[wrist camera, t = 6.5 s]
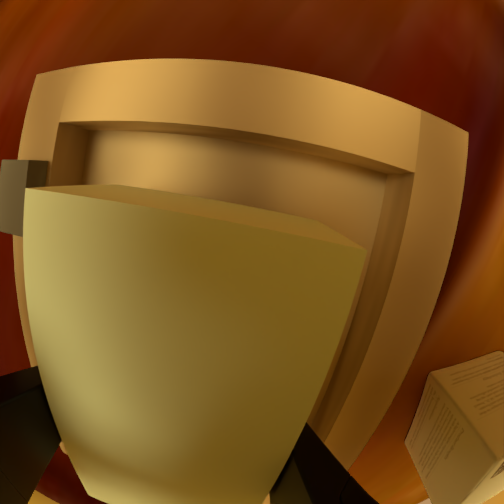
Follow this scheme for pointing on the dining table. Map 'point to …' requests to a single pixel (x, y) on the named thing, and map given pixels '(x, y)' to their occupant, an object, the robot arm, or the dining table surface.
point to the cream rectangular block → (180, 336)
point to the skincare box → (461, 432)
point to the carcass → (268, 189)
